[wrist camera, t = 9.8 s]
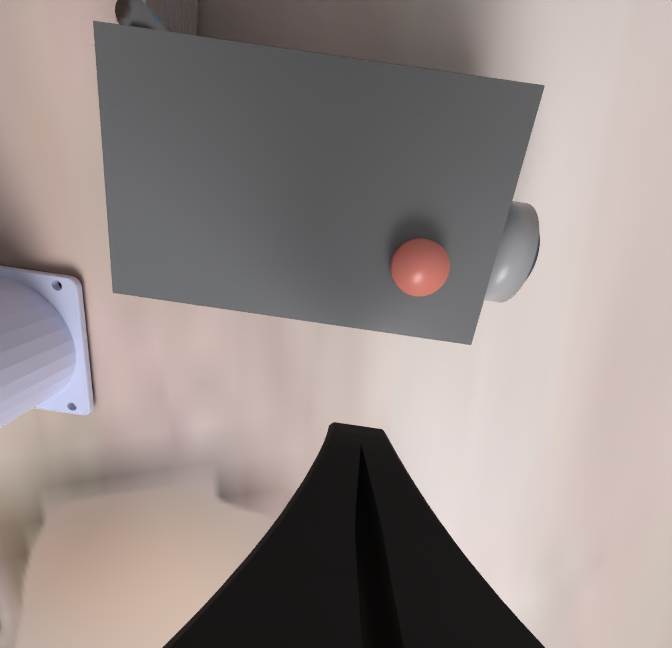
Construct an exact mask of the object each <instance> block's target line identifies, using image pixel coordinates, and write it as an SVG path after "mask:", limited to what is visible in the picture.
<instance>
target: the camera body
mask: <svg viewBox="0 0 672 648" xmlns="http://www.w3.org/2000/svg"><path fill="white" fill-rule="evenodd" d="M93 25H94V39H95V52H96V66H97V80H98V94H99V108H100V121H101V135H102V149H103V163H104V177H105V190H106V204H107V218H108V232H109V246H110V259H111V273H112V287H113V293H118V294H125V295H132V296H139V297H146V298H153V299H160V300H166V301H173V302H180V303H187V304H194V305H201V306H208V307H214V308H221V309H228V310H235V311H242V312H249V313H255V314H262V315H269V316H276V317H283V318H290V319H297V320H303V321H310V322H317V323H324V324H331V325H338V326H345V327H351V328H358V329H365V330H372V331H379V332H386V333H393V334H399V335H406V336H413V337H420V338H427V339H434V340H441V341H447V342H454V343H461V344H468V345H471V343H472V340H473V336H474V333H475V329H476V326H477V322H478V319H479V315H480V312H481V308H482V305H483V301H484V300H487V301H494V302H505V301H507V300H509V299H510V298H512V297H513V296H514V295H515V294H516V293H517V292H518V291H519V289H520V288H521V287H522V285H523V283H524V282H525V281H526V279H527V278H528V277H529V275H530V273H531V271H532V270H533V267H534V265H535V262H536V260H537V256H538V252H539V246H540V235H539V221H538V216H537V213H536V211H535V209H534V208H533V206H531V205H530V204H528V203H522V202H515V201H512V199H513V195H514V192H515V188H516V185H517V181H518V178H519V174H520V171H521V167H522V164H523V160H524V157H525V153H526V150H527V146H528V142H529V139H530V135H531V132H532V128H533V125H534V121H535V118H536V114H537V111H538V107H539V104H540V100H541V97H542V93H543V90H544V85H537V84H530V83H524V82H517V81H510V80H503V79H496V78H489V77H482V76H475V75H468V74H461V73H454V72H447V71H440V70H433V69H426V68H419V67H412V66H405V65H398V64H391V63H384V62H377V61H370V60H363V59H356V58H349V57H342V56H335V55H328V54H321V53H314V52H307V51H300V50H293V49H286V48H279V47H272V46H265V45H258V44H251V43H244V42H237V41H230V40H223V39H216V38H209V37H202V36H195V35H188V34H181V33H174V32H168V31H161V30H154V29H147V28H140V27H133V26H126V25H119V24H112V23H105V22H98V21H93Z"/></svg>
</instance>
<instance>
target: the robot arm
mask: <svg viewBox="0 0 672 648" xmlns="http://www.w3.org/2000/svg"><path fill="white" fill-rule="evenodd" d="M58 281H59V282H60V283H61V285H62V288H61V287H60V286H59V284H58ZM73 403H74V404H75V405H76V406H75V405H74V404H73ZM33 408H38V409H44V410H51V411H58V412H65V413H72V414H78V415H86V414H88V413H90V412H91V411H92V410H93V409H94V402H93V392H92V382H91V372H90V362H89V353H88V343H87V333H86V323H85V313H84V303H83V294H82V286H81V283H80V281H79V280H78V279H77V278H75V277H73V276H68V275H61V274H55V273H48V272H41V271H34V270H27V269H20V268H13V267H7V266H0V428H1V427H3V426H5V425H6V424H8V423H10V422H11V421H13V420H15V419H16V418H18V417H20V416H21V415H23V414H25V413H26V412H28V411H30V410H31V409H33ZM163 648H545V647H544V646H543V645H542V644H541V643H540V642H539V640H538V639H537V638H536V637H535V636H534V635H533V634H532V633H531V632H530V631H529V630H528V629H527V628H526V627H525V625H524V624H523V623H522V622H521V621H520V620H519V619H518V618H517V617H516V616H515V614H514V613H513V612H512V611H511V610H510V609H509V608H508V606H507V605H506V604H505V603H504V602H503V601H502V600H501V599H500V597H499V596H498V595H497V594H496V593H495V591H494V590H493V589H492V588H491V587H490V585H489V584H488V583H487V582H486V581H485V579H484V578H483V577H482V576H481V575H480V573H479V572H478V571H477V570H476V568H475V567H474V566H473V565H472V564H471V562H470V561H469V560H468V559H467V557H466V556H465V555H464V553H463V552H462V551H461V549H460V548H459V547H458V545H457V544H456V543H455V542H454V540H453V539H452V537H451V536H450V535H449V533H448V532H447V530H446V529H445V528H444V526H443V525H442V524H441V522H440V521H439V519H438V518H437V517H436V515H435V514H434V512H433V511H432V509H431V508H430V506H429V505H428V503H427V502H426V500H425V499H424V497H423V496H422V494H421V493H420V491H419V489H418V488H417V486H416V485H415V483H414V482H413V480H412V479H411V477H410V475H409V474H408V472H407V470H406V469H405V467H404V465H403V464H402V462H401V460H400V459H399V457H398V455H397V453H396V452H395V450H394V448H393V446H392V444H391V443H390V441H389V439H388V437H387V435H386V434H385V432H384V431H383V429H376V428H370V427H363V426H356V425H349V424H342V423H336V422H334V423H332V424H331V425H329V428H328V432H327V435H326V438H325V441H324V443H323V445H322V448H321V450H320V452H319V454H318V456H317V458H316V459H315V461H314V463H313V465H312V466H311V468H310V470H309V472H308V473H307V475H306V477H305V479H304V480H303V482H302V483H301V485H300V486H299V488H298V489H297V491H296V492H295V494H294V495H293V497H292V498H291V500H290V501H289V503H288V504H287V506H286V507H285V509H284V510H283V512H282V513H281V514H280V516H279V517H278V518H277V520H276V521H275V522H274V524H273V525H272V526H271V528H270V529H269V530H268V532H267V533H266V534H265V536H264V537H263V538H262V539H261V541H260V542H259V543H258V545H256V547H255V548H254V549H253V550H252V552H251V553H250V554H249V555H248V557H247V558H246V559H245V560H244V561H243V562H242V564H241V565H240V566H239V567H238V568H237V569H236V570H235V571H234V573H233V574H232V575H231V576H230V577H229V579H227V581H226V582H225V583H224V584H223V585H222V586H221V588H220V589H219V590H218V591H217V592H216V593H215V594H214V595H213V596H212V597H211V598H210V600H209V601H208V602H207V603H206V604H205V605H204V606H203V607H202V608H201V609H200V610H199V611H198V612H197V613H196V614H195V615H194V616H193V617H192V618H191V620H190V621H189V622H188V623H187V624H186V625H185V626H184V627H183V628H182V629H181V630H180V631H179V632H178V633H177V634H176V635H175V636H174V637H173V638H172V639H171V640H170V641H169V642H168V643H167V644H166V645H165V646H164V647H163Z"/></svg>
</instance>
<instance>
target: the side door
mask: <svg viewBox="0 0 672 648" xmlns="http://www.w3.org/2000/svg"><path fill="white" fill-rule="evenodd" d="M198 1H199V0H117V2H116V6H115V13H116V18H117V21H118V23H119V24H120V25H126V26H133V27H140V28H147V29H154V30H161V31H168V32H174V33H181V34H188V35H195V36H197V20H198Z"/></svg>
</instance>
